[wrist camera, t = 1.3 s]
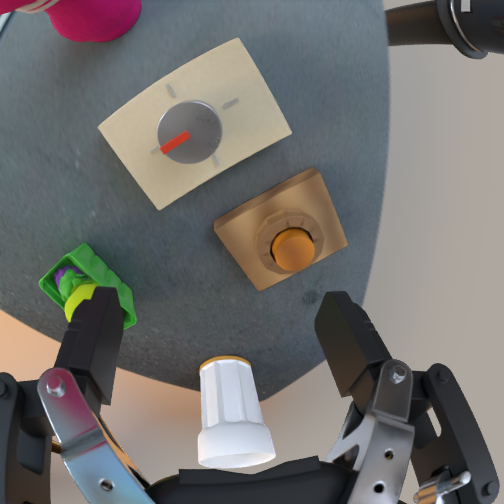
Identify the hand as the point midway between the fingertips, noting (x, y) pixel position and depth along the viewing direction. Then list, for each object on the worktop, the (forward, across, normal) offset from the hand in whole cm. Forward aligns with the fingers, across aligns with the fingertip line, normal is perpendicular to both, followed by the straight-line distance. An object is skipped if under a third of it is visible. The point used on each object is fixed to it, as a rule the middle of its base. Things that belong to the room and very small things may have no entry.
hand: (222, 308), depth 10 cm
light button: (+15, -9, +6) cm, 19 cm away
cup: (+19, -4, +34) cm, 40 cm away
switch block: (+19, -8, +6) cm, 22 cm away
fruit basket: (+19, +13, +14) cm, 27 cm away
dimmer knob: (+16, +2, -4) cm, 17 cm away
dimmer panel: (+19, +2, -4) cm, 20 cm away
